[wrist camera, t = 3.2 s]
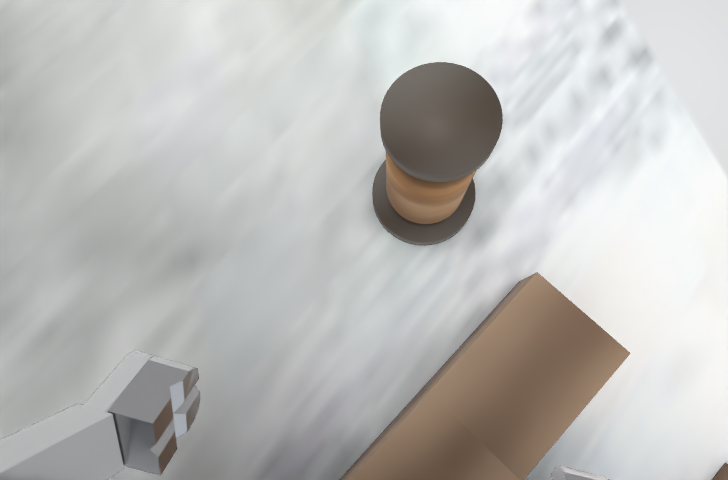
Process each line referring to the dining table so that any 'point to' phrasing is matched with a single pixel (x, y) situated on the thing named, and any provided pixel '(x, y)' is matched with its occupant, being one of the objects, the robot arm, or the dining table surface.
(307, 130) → the dining table surface
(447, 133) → the bobbin
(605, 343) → the notched board
